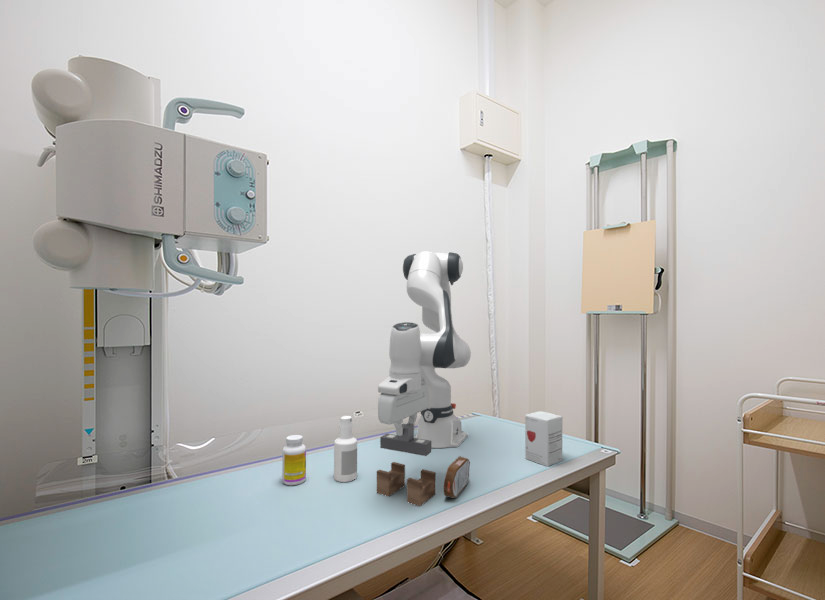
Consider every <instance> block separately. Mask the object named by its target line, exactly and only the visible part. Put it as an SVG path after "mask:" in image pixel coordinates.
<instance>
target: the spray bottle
mask: <svg viewBox="0 0 825 600" xmlns="http://www.w3.org/2000/svg"><path fill="white" fill-rule="evenodd" d="M339 420H340V421H339V426H338V428H339V430H338V437H337V438H336V439H335V440H334V443H333V479H334V480H335V481H336V482H338V481H339V482H340V483H348V482H352V480H353V481H354V479H355V480H357V477H358V440H357V438H356V437H354V436H353V435H354V434H353V433H354V432H353V422H352V420H353V419H352V416H350V415H342V416H341V417H340V418H339Z"/></svg>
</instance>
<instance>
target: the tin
mask: <svg viewBox="0 0 825 600" xmlns="http://www.w3.org/2000/svg"><path fill="white" fill-rule="evenodd" d="M470 464H471V462H470V459H469V458H467V457H463V456H458V457H457V458H455V460H454V461H453V462H452V463H450V465H448V467H447V470H446V472H445V475H444V479H443V494H444V496H445V497H447V498H451V499H455V498H457V497H458V496H459V495H460V494H461V493H462V491H463V490H464V489H465V488H466V486H467V484H468V481H469V478H470Z"/></svg>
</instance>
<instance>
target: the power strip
mask: <svg viewBox="0 0 825 600" xmlns="http://www.w3.org/2000/svg"><path fill="white" fill-rule="evenodd" d="M401 424H402V427H403V428H405V431H404V432H405V433H404V434H403V435H401V436H399V435H397V434H392V433H385V434H384V435H382V436H380V439H379V441H380V443H379V444H380V449H384V450H390V451H396V452H400V453H401V452H402V453H406V454H411V455H412V454H413V455H417V456H424V457H427V456H428V455H430V454H431V453H432V448H431V441H430V440H424V439H417V438H415V429H414V425H408V424H407V423H401Z"/></svg>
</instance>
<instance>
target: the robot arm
mask: <svg viewBox="0 0 825 600" xmlns="http://www.w3.org/2000/svg"><path fill="white" fill-rule="evenodd" d="M463 270H464V263H463V261H462V258H461V255H459V254H458V253H455V252H441V251H440V252H438V251H435V252H434V251H431V250H423V251H420V252H418V253H417V254H416V253H413V254H409V255H407V256H406V257H405V258H404V260H403V264H402V273H403V277H404V278H405V280H407V281H406V294H407V295H408V297H409V299H410V300H411V301H412V302H413V303H415V304H416V305H418V306H420V307H422V308H421V310H422V311H421V312H422V313H421V321H422V323H423V325H424V326H425V327H426V328H428V329H430V330H431V331H434V332H435V333H433V332H432V333H429V332H428V333H427V332H425V333H424V332H423V333H422V332H421V330H420V326H419V324H418V323H415V322H405V321H404V322H399V323H396V324H393V325H392V326H391V331H390V332H391V333H390V337H389V338H390V339H389V359H390V367H389V373H388V375H387V377H386V378H385V379H384V380H383V381H382V382H380V383H379V384H378V385H377V391H378V393H380V394H379V397H378V400H377V418H378V421H379V422H380V423H381V424H385V425H388V426H389V425H392V424H393V425H394V428H395V435H399V436H401V435H403V434H404V433H405V432H404V431H405V428H403V427H402V424H404V423H403V421H404V420H405V419H406V418H408V421H407V423H406V424H408V425H414V430H415V423H416V421H418V422H417V430H416V432H417V433H416V434H414V438H417V439H424V440H430V441H431V449H434V448H435V449H445V448H458V447H460V446H461V444H462V443H463V442H464V441H465V440H466V439H467V437H468V433H467V432H466V431H463V428H462V427H463V426H462V421H461V420H460V419H459V418H458V417H457V416H455V414H454V410H455V409H456V407H457V405H456V403H453V402H452V399H451V398H452V386H451V384H450V382H449V381H448V380H447V379H446V378H444V377H442V376H440V375H439V374H437V372H436V369H457V368H464V367H466V366H467V365H468V364H469V362H470V360H471V356H472V355H471V354H472V352H471V349H470V346H469V344H468V343H467V342H466V341H465V340H464V339H462V338H461V337H460V335H458V333H457V332H456V330H455V327H454V325H453V315H452V295H451V294H452V293H451V286H453V285H454V283H455V282H458V280H459V279H460V278H461V277H462V274H463ZM420 332H421V333H420ZM418 413H419V414H420V415H419V417H418ZM417 418H418V419H417Z"/></svg>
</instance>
